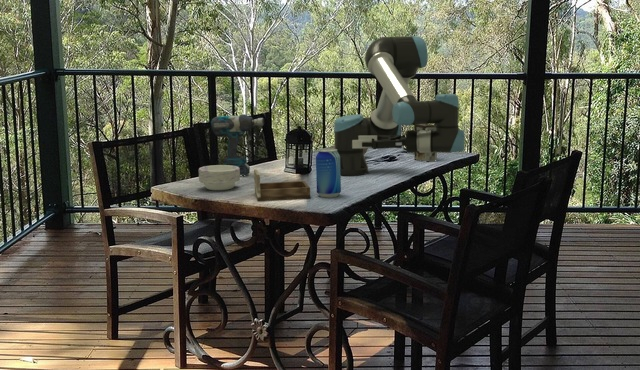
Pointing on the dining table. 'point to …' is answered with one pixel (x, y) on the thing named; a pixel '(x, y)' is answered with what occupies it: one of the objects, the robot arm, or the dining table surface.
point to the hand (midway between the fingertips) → (355, 141)
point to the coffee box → (425, 156)
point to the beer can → (328, 173)
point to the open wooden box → (280, 189)
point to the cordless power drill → (235, 136)
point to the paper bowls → (219, 176)
